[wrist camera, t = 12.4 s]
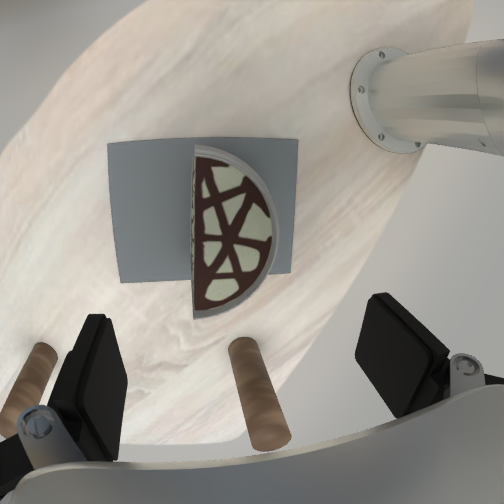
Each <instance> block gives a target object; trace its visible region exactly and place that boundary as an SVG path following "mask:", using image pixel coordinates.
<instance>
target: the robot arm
mask: <svg viewBox="0 0 504 504" xmlns="http://www.w3.org/2000/svg"><path fill="white" fill-rule="evenodd" d="M358 90H359V92H358ZM351 101H352V106H353V109H354V113H355V115H356V118H357V120H358V122H359V124H360V126H361V127H362V129H363V131H364V132H365V134H366V135H367V136H368V137H369V138H370V139H371V140H372V141H373V142H374V143H375V144H377V145H378V146H379V147H381V148H383V149H385V150H387V151H390V152H394V153H400V154H408V153H413V152H416V151H418V150H420V149H421V148H423V147H424V146H425V145H426V144H427V143H430V144H438V145H445V146H451V147H457V148H463V149H469V150H475V151H480V152H485V153H491V154H495V155H500V156H504V39H498V40H489V41H481V42H473V43H466V44H460V45H454V46H448V47H443V48H438V49H433V50H428V51H423V52H419V53H414V54H408V53H406V52H404V51H402V50H400V49H396V48H380V49H376V50H374V51H371V52H369V53H367V54H366V55H365V56H363V57H362V58H361V60H360V61H359V62H358V63H357V65H356V67H355V69H354V72H353V75H352V80H351ZM449 352H450V350H449V349H448V348H446V346H445V345H444V344H443V343H442V342H440V340H438V339H437V338H436V337H435V336H434V335H433V334H432V333H431V332H430V331H429V330H428V329H427V328H426V327H425V326H424V325H423V324H422V323H420V322H419V321H418V320H417V319H416V318H415V317H414V316H413V315H412V314H411V313H410V312H409V311H408V310H406V309H405V308H404V307H403V306H402V305H401V304H400V303H399V302H398V301H397V300H395V299H394V298H393V297H392V296H391V295H390V294H389V293H386V292H385V293H378V294H373V295H372V297H371V298H370V299H369V300H368V303H367V307H366V312H365V315H364V320H363V324H362V328H361V332H360V336H359V339H358V343H357V347H356V351H355V359H356V361H357V363H358V364H359V365H360V367H361V368H362V370H363V371H364V373H365V374H366V376H367V377H368V378H369V380H370V381H371V383H372V384H373V385H374V387H375V389H376V390H377V392H378V393H379V395H380V396H381V397H382V399H383V400H384V402H385V403H386V405H387V406H388V408H389V409H390V411H391V412H392V414H393V415H394V417H395V418H397V419H396V420H393V421H390V422H388V423H385V424H382V425H379V426H376V427H373V428H370V429H367V430H364V431H360V432H357V433H354V434H350V435H347V436H343V437H340V438H337V439H332V440H329V441H325V442H321V443H317V444H312V445H308V446H303V447H299V448H294V449H289V450H283V451H278V452H272V453H266V454H260V455H253V456H246V457H238V458H229V459H219V460H207V461H190V462H159V463H158V462H157V463H155V462H154V463H153V462H151V463H149V462H148V463H147V462H145V463H144V462H113V460H115V461H116V460H117V459H118V453H119V444H120V435H121V427H122V419H123V411H124V404H125V398H126V391H127V384H128V380H127V374H126V371H125V368H124V365H123V361H122V358H121V354H120V351H119V347H118V344H117V340H116V336H115V332H114V328H113V324H112V321H111V319H110V318H106V316H105V314H89V315H88V316H87V318H86V320H85V323H84V325H83V327H82V329H81V331H80V334H79V336H78V338H77V340H76V343H75V345H74V347H73V350H72V351H69V352H68V354H67V356H66V358H65V360H64V363H63V365H62V367H61V370H60V372H59V375H58V377H57V380H56V382H55V385H54V388H53V390H52V393H51V396H50V398H49V401H48V404H47V406H45V405H34V406H31V407H29V408H27V409H26V410H24V411H23V412H22V413H21V414H20V416H19V418H18V420H17V425H16V428H17V432H18V433H17V434H15V435H13V436H11V437H10V438H8V439H6V440H4V441H2V442H0V504H504V378H500V377H496V376H492V375H487V374H484V371H483V367H482V364H481V363H480V362H479V361H478V360H477V359H476V358H475V357H473V356H471V355H468V354H464V353H459V354H456V355H453V356H452V357H451V359H450V360H449V359H448V358H447V357H448V354H449Z"/></svg>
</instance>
